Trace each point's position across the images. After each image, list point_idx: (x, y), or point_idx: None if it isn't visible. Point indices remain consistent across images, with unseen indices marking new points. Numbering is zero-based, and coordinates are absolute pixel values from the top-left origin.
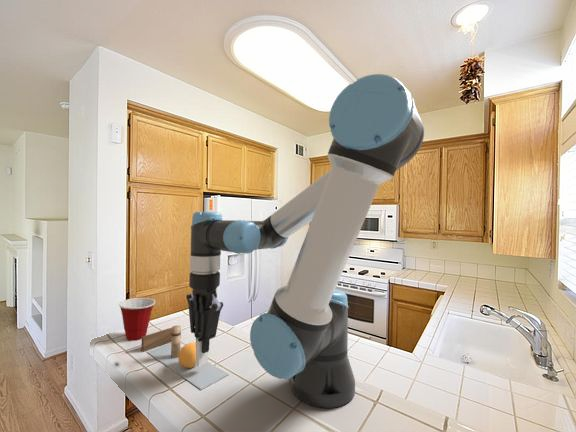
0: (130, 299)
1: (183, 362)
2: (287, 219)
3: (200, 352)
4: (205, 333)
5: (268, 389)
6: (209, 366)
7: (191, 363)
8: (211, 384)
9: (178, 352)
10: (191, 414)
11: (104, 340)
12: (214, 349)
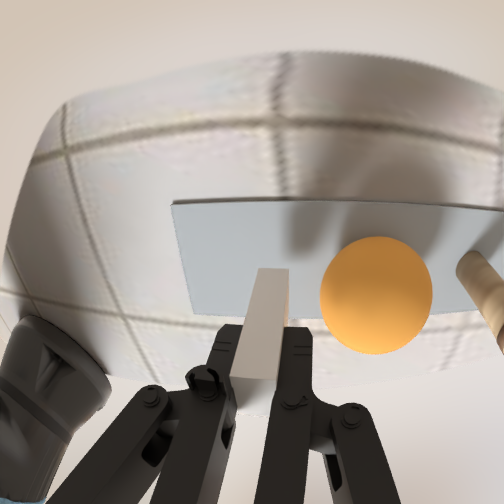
0: None
1: (359, 243)
2: None
3: (247, 320)
4: (149, 425)
5: (84, 316)
6: (292, 306)
7: (329, 265)
8: (179, 246)
9: (464, 281)
10: (86, 125)
11: None
12: (378, 367)
